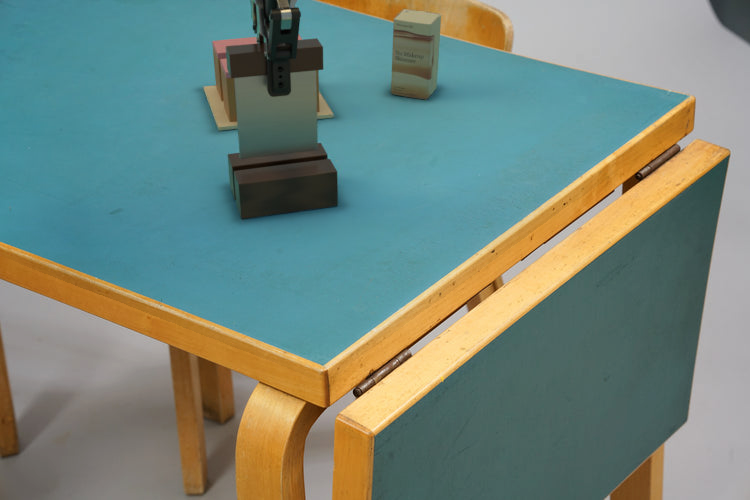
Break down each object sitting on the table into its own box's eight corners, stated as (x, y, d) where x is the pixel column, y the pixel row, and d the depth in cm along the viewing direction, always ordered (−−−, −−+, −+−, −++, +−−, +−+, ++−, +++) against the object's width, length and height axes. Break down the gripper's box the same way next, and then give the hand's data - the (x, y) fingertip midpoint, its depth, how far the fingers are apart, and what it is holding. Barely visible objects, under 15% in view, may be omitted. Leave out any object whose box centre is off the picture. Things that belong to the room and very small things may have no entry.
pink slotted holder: (218, 131, 116) (214, 76, 112) (203, 89, 127) (198, 39, 123) (333, 117, 119) (332, 64, 116) (309, 78, 130) (307, 29, 126)
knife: (236, 164, 98) (229, 54, 92) (233, 153, 100) (225, 45, 94) (324, 153, 100) (323, 46, 94) (319, 144, 102) (317, 38, 96)
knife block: (241, 219, 98) (238, 184, 96) (230, 187, 104) (227, 153, 102) (338, 206, 101) (337, 171, 99) (321, 175, 106) (320, 142, 104)
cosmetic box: (389, 95, 125) (390, 18, 120) (400, 83, 129) (402, 7, 124) (428, 100, 124) (431, 23, 119) (438, 88, 127) (441, 12, 122)
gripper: (214, -109, 92) (226, 67, 101) (239, -73, 80) (250, 121, 89) (293, -113, 94) (298, 60, 103) (328, -79, 82) (330, 113, 91)
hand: (276, 88), depth 96 cm, fingers closed on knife, 2 cm apart
